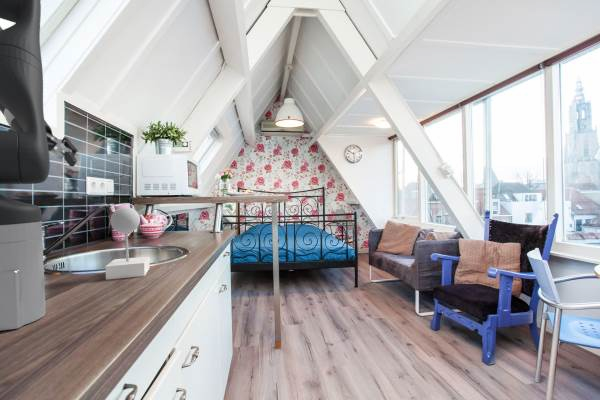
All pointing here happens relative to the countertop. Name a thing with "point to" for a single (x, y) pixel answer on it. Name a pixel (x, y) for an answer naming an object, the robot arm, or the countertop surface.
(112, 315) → the countertop surface
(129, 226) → the lollipop
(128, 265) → the white soap bar
